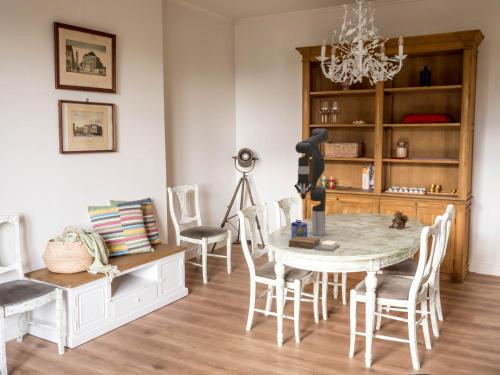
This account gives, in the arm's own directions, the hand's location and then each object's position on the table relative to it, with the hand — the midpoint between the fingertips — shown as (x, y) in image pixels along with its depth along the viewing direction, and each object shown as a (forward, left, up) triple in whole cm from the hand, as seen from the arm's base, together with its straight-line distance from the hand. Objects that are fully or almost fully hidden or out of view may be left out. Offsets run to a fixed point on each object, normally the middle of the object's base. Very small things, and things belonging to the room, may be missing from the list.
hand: (303, 199), depth 326 cm
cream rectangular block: (+10, +21, -27) cm, 35 cm away
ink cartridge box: (-3, -4, -29) cm, 30 cm away
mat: (+9, +19, -29) cm, 36 cm away
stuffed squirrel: (-73, +50, -29) cm, 93 cm away
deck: (+9, +4, -29) cm, 31 cm away
